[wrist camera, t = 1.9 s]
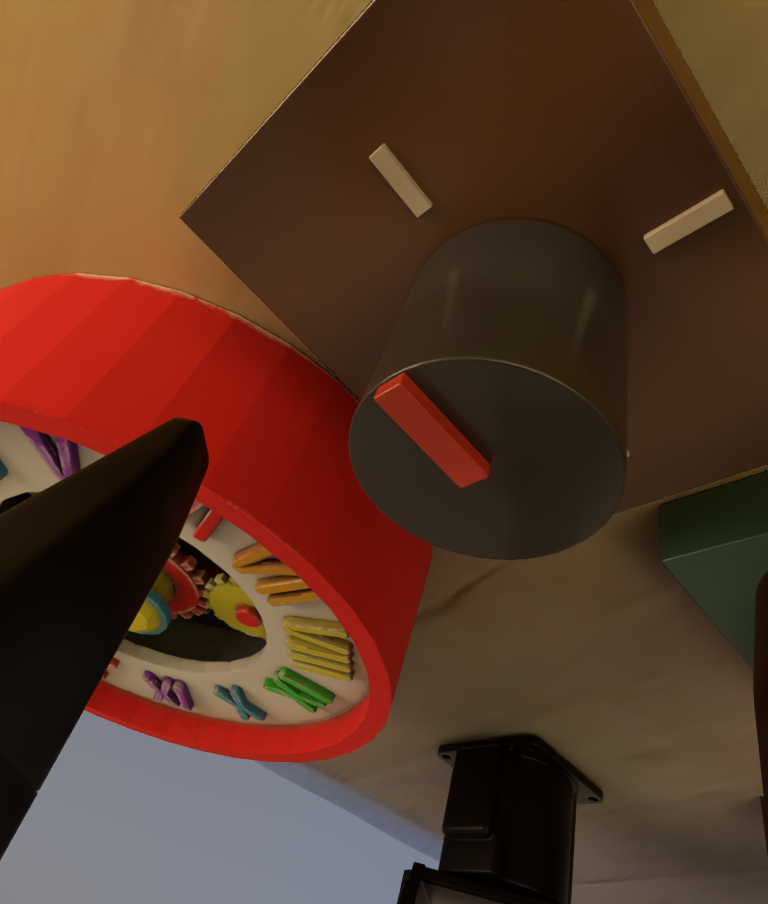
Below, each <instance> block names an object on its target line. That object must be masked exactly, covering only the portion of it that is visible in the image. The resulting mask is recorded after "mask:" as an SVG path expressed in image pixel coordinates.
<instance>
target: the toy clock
mask: <svg viewBox="0 0 768 904" xmlns="http://www.w3.org/2000/svg"><path fill="white" fill-rule="evenodd" d="M359 403H360V402H359V401H358V400H357V399H356V398H355V397H354V396H353V395H352V394H350V393H349V392H348V391H347V390H346V389H345V388H344V387H343V386H342V385H341V384H340V383H339V382H338V381H337V380H336V379H335V378H334V377H332V376H331V375H330V374H328V373H327V372H326V371H324V370H323V369H322V368H321V367H319V366H318V365H317V364H315V363H314V362H313V361H311V360H310V359H309V358H307V357H306V356H305V355H303V354H302V353H301V352H299V351H298V350H297V349H296V348H294V347H293V346H292V345H290V344H288V343H287V342H285V341H283V340H282V339H280V338H278V337H276V336H275V335H273V334H271V333H269V332H268V331H266V330H264V329H262V328H261V327H259V326H257V325H255V324H254V323H252V322H250V321H249V320H247V319H245V318H243V317H242V316H240V315H238V314H236V313H233V312H231V311H228V310H226V309H224V308H221V307H219V306H216V305H214V304H211V303H209V302H207V301H204V300H202V299H199V298H197V297H195V296H192V295H190V294H187V293H185V292H182V291H178V290H174V289H171V288H167V287H163V286H159V285H155V284H151V283H147V282H143V281H139V280H136V279H132V278H127V277H116V276H105V275H94V274H83V273H73V274H64V275H54V276H45V277H35V278H32V279H29V280H26V281H23V282H21V283H18V284H15V285H12V286H10V287H7V288H4V289H1V290H0V514H1V513H3V512H5V511H7V510H9V509H10V508H12V507H14V506H16V505H18V504H19V503H21V502H23V501H25V500H27V499H28V498H30V497H32V496H34V495H36V494H37V493H39V492H41V491H43V490H45V489H46V488H48V487H50V486H52V485H54V484H55V483H57V482H59V481H61V480H63V479H64V478H66V477H68V476H70V475H72V474H73V473H75V472H77V471H79V470H81V469H82V468H84V467H86V466H88V465H90V464H91V463H93V462H95V461H97V460H99V459H100V458H102V457H104V456H106V455H108V454H109V453H111V452H113V451H115V450H117V449H118V448H120V447H122V446H124V445H126V444H127V443H129V442H131V441H133V440H135V439H136V438H138V437H140V436H142V435H144V434H145V433H147V432H149V431H151V430H153V429H154V428H156V427H158V426H160V425H162V424H163V423H165V422H167V421H169V420H171V419H173V418H176V417H181V418H186V419H190V420H195V421H198V422H199V423H200V424H201V425H202V427H203V431H204V436H205V440H206V445H207V449H208V454H209V465H208V469H207V472H206V474H205V477H204V479H203V481H202V484H201V486H200V489H199V491H198V493H197V496H196V498H195V501H194V503H193V505H192V508H191V510H190V513H189V515H188V517H187V520H186V522H185V525H184V527H183V529H182V532H181V534H180V536H179V539H178V541H177V543H176V545H175V547H174V549H173V551H172V553H171V555H170V557H169V559H168V561H167V562H166V564H165V566H164V568H163V570H162V571H161V573H160V575H159V577H158V578H157V580H156V582H155V584H154V586H153V587H152V589H151V591H150V593H149V595H148V596H147V598H146V600H145V602H144V603H143V605H142V607H141V609H140V611H139V612H138V614H137V616H136V618H135V620H134V621H133V623H132V625H131V627H130V629H129V630H128V632H127V634H126V636H125V637H124V639H123V641H122V643H121V645H120V646H119V648H118V650H117V652H116V654H115V655H114V657H113V659H112V661H111V662H110V664H109V666H108V668H107V670H106V671H105V673H104V675H103V677H102V679H101V680H100V682H99V684H98V686H97V688H96V689H95V691H94V693H93V695H92V696H91V698H90V700H89V702H88V704H87V705H86V707H85V709H84V710H86V711H88V712H90V713H92V714H94V715H97V716H99V717H102V718H104V719H107V720H109V721H112V722H114V723H117V724H119V725H122V726H125V727H127V728H130V729H132V730H135V731H138V732H141V733H144V734H147V735H150V736H153V737H156V738H159V739H161V740H164V741H168V742H171V743H175V744H178V745H182V746H186V747H189V748H193V749H197V750H200V751H204V752H210V753H214V754H219V755H224V756H229V757H234V758H241V759H250V760H258V761H267V762H308V761H317V760H327V759H331V758H334V757H338V756H341V755H345V754H348V753H352V752H353V751H355V750H357V749H358V748H360V747H362V746H364V745H365V744H367V743H369V742H370V741H372V740H373V738H374V737H375V736H376V735H377V734H378V733H379V731H380V730H381V729H382V728H383V727H384V725H385V724H386V721H387V717H388V714H389V711H390V707H391V704H392V700H393V697H394V693H395V689H396V686H397V682H398V678H399V675H400V671H401V667H402V664H403V660H404V657H405V653H406V649H407V646H408V642H409V638H410V635H411V631H412V627H413V624H414V620H415V616H416V613H417V609H418V605H419V602H420V598H421V594H422V591H423V587H424V583H425V580H426V576H427V572H428V569H429V565H430V561H431V558H432V547H431V543H429V542H426V541H424V540H422V539H420V538H418V537H416V536H415V535H413V534H411V533H409V532H408V531H406V530H404V529H403V528H402V527H400V526H399V525H397V524H396V523H394V522H393V521H392V520H391V519H390V518H388V517H387V516H386V515H385V514H384V513H382V511H381V510H380V509H379V508H378V507H377V506H376V505H375V504H374V503H373V502H372V501H371V499H370V498H369V497H368V496H367V494H366V493H365V492H364V490H363V488H362V487H361V485H360V483H359V481H358V479H357V477H356V475H355V472H354V470H353V467H352V463H351V459H350V455H349V444H348V440H349V429H350V425H351V422H352V418H353V416H354V413H355V411H356V409H357V407H358V405H359Z"/></svg>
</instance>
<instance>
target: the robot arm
mask: <svg viewBox="0 0 768 904" xmlns="http://www.w3.org/2000/svg"><path fill="white" fill-rule="evenodd" d="M208 465H209V454H208V449H207V445H206V440H205V436H204V431H203V427H202V425H201V424H200V423H199V422H198V421H195V420H190V419H186V418H181V417H176V418H173V419H171V420H169V421H167V422H165V423H163V424H162V425H160V426H158V427H156V428H154V429H153V430H151V431H149V432H147V433H145V434H144V435H142V436H140V437H138V438H136V439H135V440H133V441H131V442H129V443H127V444H126V445H124V446H122V447H120V448H118V449H117V450H115V451H113V452H111V453H109V454H108V455H106V456H104V457H102V458H100V459H99V460H97V461H95V462H93V463H91V464H90V465H88V466H86V467H84V468H82V469H81V470H79V471H77V472H75V473H73V474H72V475H70V476H68V477H66V478H64V479H63V480H61V481H59V482H57V483H55V484H54V485H52V486H50V487H48V488H46V489H45V490H43V491H41V492H39V493H37V494H36V495H34V496H32V497H30V498H28V499H27V500H25V501H23V502H21V503H19V504H18V505H16V506H14V507H12V508H10V509H9V510H7V511H5V512H3V513H1V514H0V860H1V858H2V856H3V854H4V853H5V851H6V849H7V847H8V846H9V844H10V842H11V840H12V838H13V837H14V835H15V833H16V831H17V829H18V827H19V826H20V824H21V822H22V820H23V819H24V817H25V815H26V813H27V811H28V810H29V808H30V806H31V804H32V803H33V801H34V799H35V797H36V796H37V791H38V790H39V789H40V788H41V786H42V784H43V782H44V780H45V779H46V777H47V775H48V773H49V772H50V770H51V768H52V766H53V764H54V763H55V761H56V759H57V757H58V755H59V754H60V752H61V750H62V748H63V746H64V745H65V743H66V741H67V739H68V737H69V736H70V734H71V732H72V730H73V729H74V727H75V725H76V723H77V721H78V720H79V718H80V716H81V714H82V713H83V711H84V709H85V707H86V705H87V704H88V702H89V700H90V698H91V696H92V695H93V693H94V691H95V689H96V688H97V686H98V684H99V682H100V680H101V679H102V677H103V675H104V673H105V671H106V670H107V668H108V666H109V664H110V662H111V661H112V659H113V657H114V655H115V654H116V652H117V650H118V648H119V646H120V645H121V643H122V641H123V639H124V637H125V636H126V634H127V632H128V630H129V629H130V627H131V625H132V623H133V621H134V620H135V618H136V616H137V614H138V612H139V611H140V609H141V607H142V605H143V603H144V602H145V600H146V598H147V596H148V595H149V593H150V591H151V589H152V587H153V586H154V584H155V582H156V580H157V578H158V577H159V575H160V573H161V571H162V570H163V568H164V566H165V564H166V562H167V561H168V559H169V557H170V555H171V553H172V551H173V549H174V547H175V545H176V543H177V541H178V539H179V536H180V534H181V532H182V529H183V527H184V525H185V522H186V520H187V517H188V515H189V513H190V510H191V508H192V505H193V503H194V501H195V498H196V496H197V493H198V491H199V489H200V486H201V484H202V481H203V479H204V477H205V474H206V472H207V469H208ZM753 693H754V706H755V716H756V726H757V736H758V745H759V755H760V764H761V774H762V784H763V793H764V803H765V812H766V822H767V832H768V571H767V572H766V573H765V575H764V576H763V577H762V579H761V580H760V582H759V584H758V586H757V589H756V595H755V631H754V671H753ZM438 756H439V757H440V758H441V759H442V760H444V761H445V762H446V763H448V764H449V765H450V766H452V767H453V773H452V778H451V783H450V789H449V794H448V799H447V805H446V810H445V815H444V821H443V826H442V832H443V834H445V836H444V842H443V847H442V852H441V858H440V864H439V869H438V870H435V869H431V868H427V867H426V866H425V865H424V864H421V863H417V862H414V864H413V867H412V870H404V875H403V879H402V883H401V888H400V893H399V897H398V902H397V904H571V894H572V876H573V858H574V840H575V823H576V805H577V804H593V803H602V802H603V792H602V790H600V789H599V788H598V787H597V786H596V785H594V784H593V783H592V782H591V781H590V780H589V779H587V778H586V777H585V776H584V775H583V774H582V773H580V772H579V771H578V770H577V769H576V768H574V767H573V766H572V765H571V764H570V763H569V762H567V761H566V760H565V759H564V758H563V757H562V756H560V755H559V754H558V753H557V752H556V751H555V750H553V749H552V748H551V747H550V746H549V745H547V744H546V743H545V742H544V741H543V740H541V739H540V738H538V737H534V736H522V737H513V738H503V739H494V740H485V741H475V742H466V743H457V744H448V745H441V746H439V749H438Z"/></svg>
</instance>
